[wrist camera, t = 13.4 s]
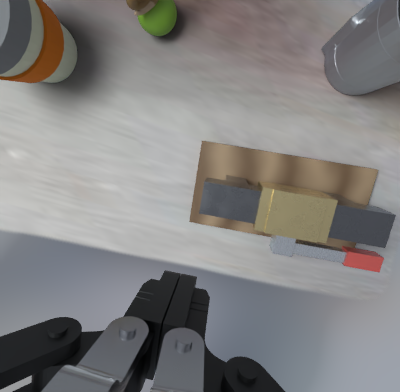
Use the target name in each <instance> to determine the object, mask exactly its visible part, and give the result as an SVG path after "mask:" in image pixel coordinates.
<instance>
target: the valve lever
mask: <svg viewBox="0 0 400 392" xmlns="http://www.w3.org/2000/svg"><path fill="white" fill-rule="evenodd" d="M269 246H270V249H271V251H272V253H274V254H279V255H285V256H290V257H292V254H298V255H303V256H308V257H314V258H319V259H325V260H330V261H335V262H341V263H342V264H343V265H344V266H348V267H353V268H359V269H364V270H369V271H375V272H380V268H381V265H382V262H383V259H384V258H383V257H382V256H380V255H379V254H378V253H376V252H373V251H368V250H362V249H357V248H351V247H346V246H342V248H338V247H332V246H327V245H321V244H316V243H310V242H305V241H299V240H296V239H294V238H288V237H283V236H278V235H272V236H271V241H270V245H269Z"/></svg>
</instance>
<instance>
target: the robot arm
mask: <svg viewBox="0 0 400 392" xmlns="http://www.w3.org/2000/svg"><path fill="white" fill-rule="evenodd" d="M322 51H323V53H324V55H325V64H324V67H325V73H326V76H327V79H328V81H329V82H330V84H331V85H332V86H333V87H334V88H335V89H336V90H338V91H340V92H341V93H344V94H347V95H362V94H366V93H369V92H372V91H375V90H378V89H380V88H383V87H386V86H388V85H391V84H394V83H397V82H400V0H373V1H372V2H370V3H369V4H368V5H367V6H365V7H364V8H363V9H361V10H360V11H359V12H358V13H356V14H355V15H354V16H353V17H352V18H350V19H349V20H348V21H347V23H346V24H345V25H344V26H343V27H342V28H341V29H340V30H339V31H338V32H337V33H336V34H335V35H334V36H333V37H332V38H331V39H330V40H329V41H328V42H327V43H326V44H325V45H324V46H323V47H322ZM196 279H197V277H195V276H190V275H186V274H181V276H180V273H175V272H170V271H164V273H163V275H162V277H161V279H160V281H159V280H154V279H150V280H149V281H147V282H146V283H144V284H143V285H142V287H141V289H140V290H139V292H138V293H137V295H136V297H135V299H134V300H133V302H132V303H131V305H130V307H129V308H128V310H127V312H126V313H125V315H124V317H121V318H118V319H116V320H114V321H112V322H111V323H110V324H109V325H108V327H107V328H106V329H105V330H103V331H97V332H81V330H82V327H81V324H80V323H79V322H78V321H77V320H75V319H73V318H68V317H59V318H54V319H50V320H48V321H45V322H42V323H39V324H36V325H33V326H30V327H27V328H24V329H21V330H19V331H16V332H13V333H10V334H7V335H4V336H1V337H0V389H3V388H5V387H7V386H9V385H11V384H13V383H15V382H18V381H20V380H22V379H24V378H26V377H28V376H31V375H32V383H30V384H28V385H25V386H23V387H21V388H20V389H17V390H15V391H13V392H140V391H141V390H142V387H143V384H144V382H145V379H151V380H153V378H154V375H155V379H154V383H153V387H152V388H151V390H150V392H285V391H284V390H283V389H282V388H281V387H280V386H279V384H278V383H277V382H276V381H275V380H274V379H273V378H272V377H271V376H270V374H269V373H267V371H266V370H265V369H264V368H263V367H262V366H261V365H260V364H259V363H257V362H256V361H254V360H252V359H250V358H247V357H234V358H232V359H230V360H229V361H227V363H226V362H224V361H222V360H221V359H219V358H217V357H216V356H214V355H213V354H212V353H211V352H210V351H209V350H208V348H207V347H206V344H205V330H206V323H207V314H208V306H209V299H210V297H209V295H208V293H207V291H206V290H203V289H199V288H195V285H196ZM155 372H156V374H155Z"/></svg>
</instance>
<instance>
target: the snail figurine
mask: <svg viewBox="0 0 400 392" xmlns="http://www.w3.org/2000/svg"><path fill="white" fill-rule="evenodd" d="M126 2H127V4H128V6H129V7H130V8H131V9H132V10H136V11H135V13H134V14H135V15H137V16H138V20H139V22H140V24H141V26H142V27H143V28H144V30H145V31H147V32H148V33H150V34H152V35H154V36H163V35H165V34H167V33H169V32H170V31H171V30H172V29H173V27H174V25H175V23H176V19H177V10H176V5H175V3H174V1H173V0H126Z"/></svg>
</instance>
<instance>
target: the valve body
mask: <svg viewBox="0 0 400 392" xmlns="http://www.w3.org/2000/svg"><path fill="white" fill-rule="evenodd" d="M199 214H204V215H210V216H215V217H221V218H226V219H231V220H237V221H242V222H248V223H252V225H253V228H254V230H256V231H262V232H264V233H267V234H272V235H278V236H283V237H288V238H294V239H299V240H304V241H310V242H315V243H317V242H321V243H326V242H327V238H328V237H329V238H334V239H340V240H345V241H351V242H356V243H361V244H367V245H372V246H378V247H383V248H385V247H386V244H387V241H388V238H389V234H390V231H391V228H392V225H393V222H394V219H395V216H396V215H394V214H392V213H390V212H388V211H385V210H383V209H381V208H379V207H375V206H369V205H364V204H358V203H355V202H353V201H351V200H349V199H347V198H345V197H343V196H341V195H339V194H333V193H327V192H322V191H314V190H310V189H304V188H298V187H292V186H287V185H281V184H275V183H269V182H261V181H258V185H257V186H255V185H249V184H248V183H247V181H246V178H240V177H235V176H229V175H226V179H225V180H220V179H214V178H209V177H207V178H206V180H205V181H204V186H203V192H202V198H201V204H200V211H199Z"/></svg>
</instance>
